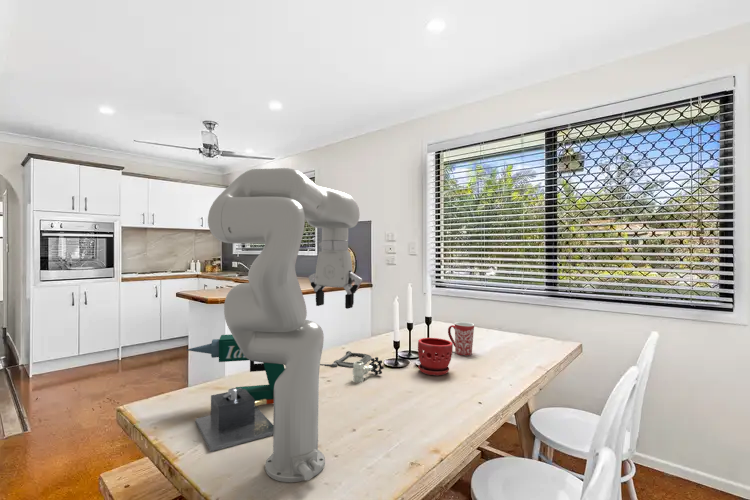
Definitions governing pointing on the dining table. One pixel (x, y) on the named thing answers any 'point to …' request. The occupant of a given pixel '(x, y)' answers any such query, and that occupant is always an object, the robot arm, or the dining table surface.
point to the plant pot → (434, 355)
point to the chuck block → (234, 421)
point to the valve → (365, 369)
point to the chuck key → (232, 394)
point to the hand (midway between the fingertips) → (334, 306)
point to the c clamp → (348, 364)
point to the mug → (462, 337)
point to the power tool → (231, 352)
